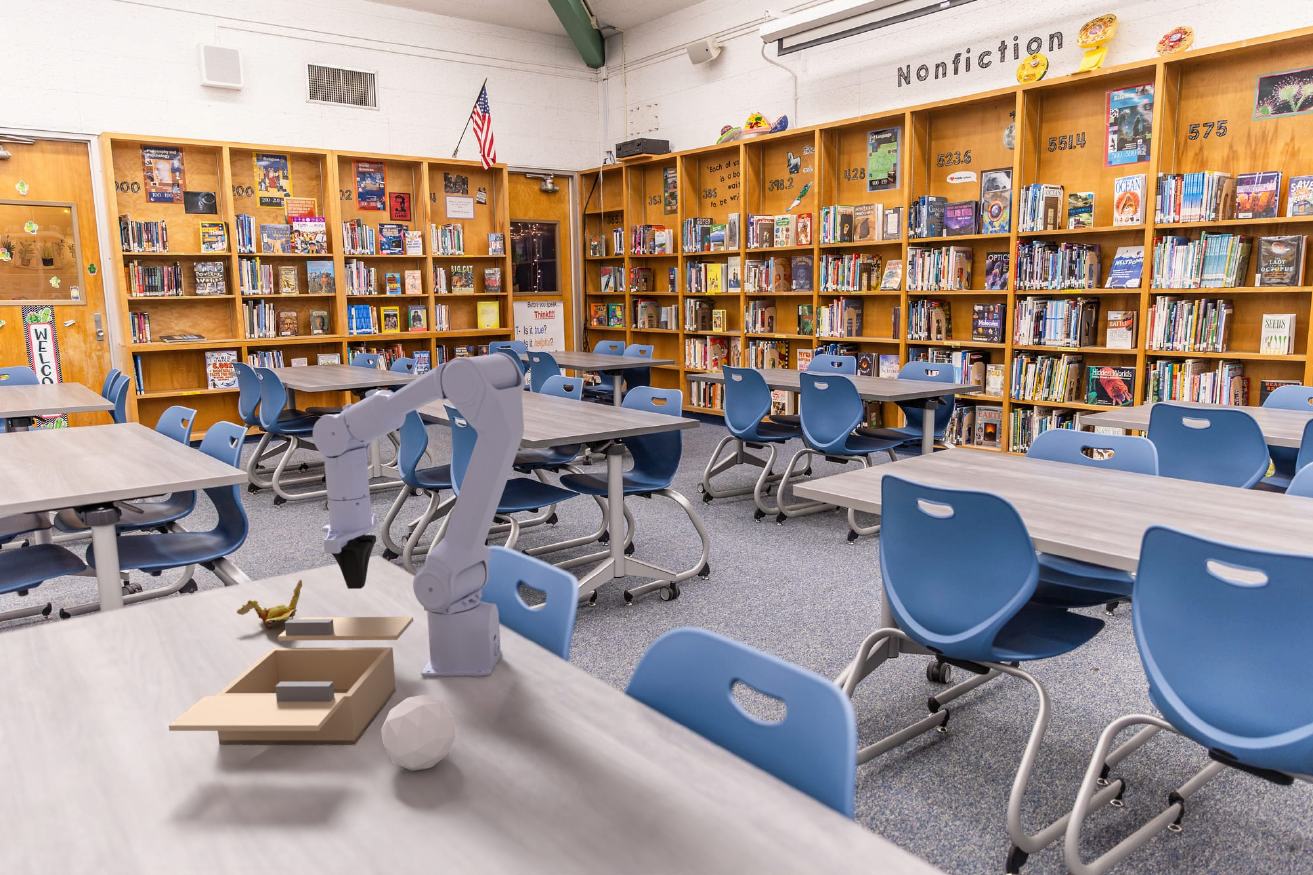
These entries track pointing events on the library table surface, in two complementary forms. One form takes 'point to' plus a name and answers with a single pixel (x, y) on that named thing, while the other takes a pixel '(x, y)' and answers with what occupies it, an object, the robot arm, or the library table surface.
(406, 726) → the geometric ball
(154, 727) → the library table surface
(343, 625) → the right flap
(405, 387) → the robot arm
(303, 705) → the left flap
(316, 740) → the carton
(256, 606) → the yellow dragon figurine
